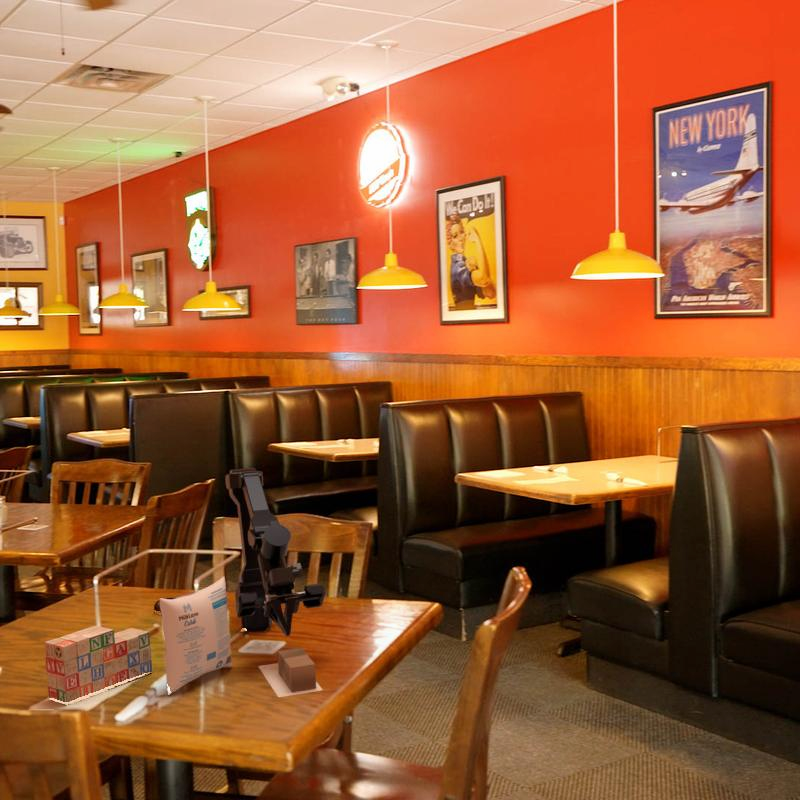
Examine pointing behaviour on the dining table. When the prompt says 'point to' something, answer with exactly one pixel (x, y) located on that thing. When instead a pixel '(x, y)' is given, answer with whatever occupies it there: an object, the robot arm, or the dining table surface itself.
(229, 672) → the dining table surface
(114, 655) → the stack of blocks
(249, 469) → the robot arm
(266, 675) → the placemat
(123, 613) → the dining table surface
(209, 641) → the pouch
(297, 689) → the walnut block
